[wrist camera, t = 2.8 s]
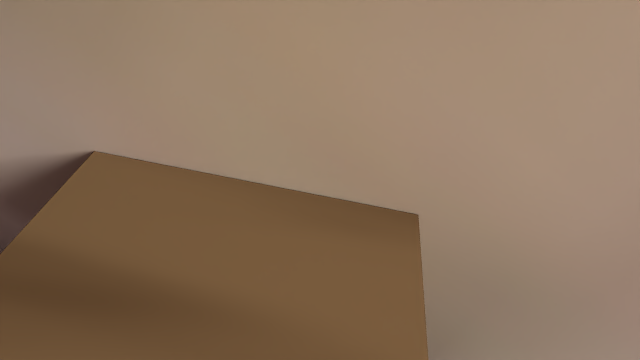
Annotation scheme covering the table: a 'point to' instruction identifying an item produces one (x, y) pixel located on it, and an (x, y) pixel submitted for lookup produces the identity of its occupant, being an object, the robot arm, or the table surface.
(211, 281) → the walnut cube
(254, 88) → the table surface
